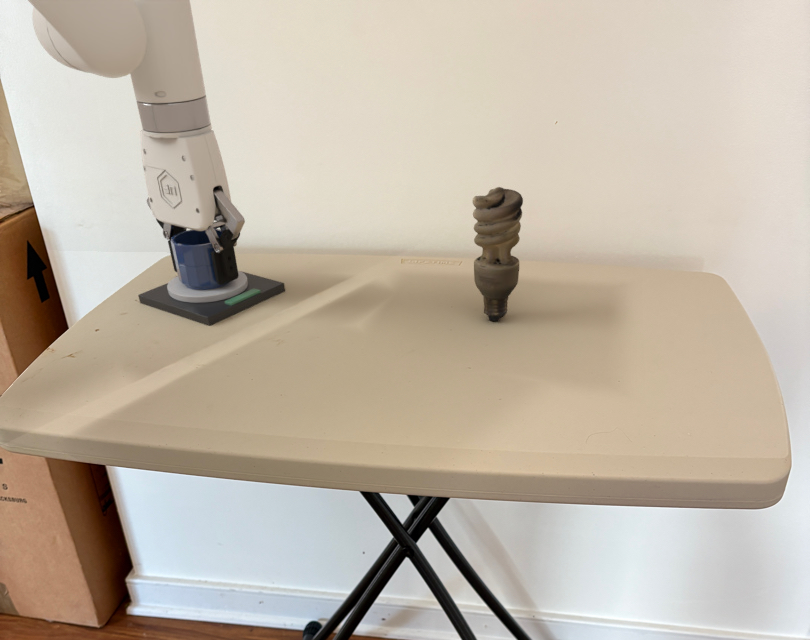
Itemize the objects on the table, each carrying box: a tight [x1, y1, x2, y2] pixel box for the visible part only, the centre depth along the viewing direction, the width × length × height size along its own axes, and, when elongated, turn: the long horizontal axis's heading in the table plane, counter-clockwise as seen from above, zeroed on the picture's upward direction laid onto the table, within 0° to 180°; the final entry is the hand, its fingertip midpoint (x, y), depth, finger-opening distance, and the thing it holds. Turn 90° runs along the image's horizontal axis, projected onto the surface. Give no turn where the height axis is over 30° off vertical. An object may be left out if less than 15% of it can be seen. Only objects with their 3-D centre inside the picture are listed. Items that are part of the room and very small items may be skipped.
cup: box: [171, 228, 229, 290], centre depth 94 cm, size 7×7×6 cm
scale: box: [137, 270, 286, 327], centre depth 97 cm, size 13×13×3 cm
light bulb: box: [472, 186, 524, 322], centre depth 87 cm, size 6×6×15 cm
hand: (206, 274), depth 95 cm, fingers open, 7 cm apart
